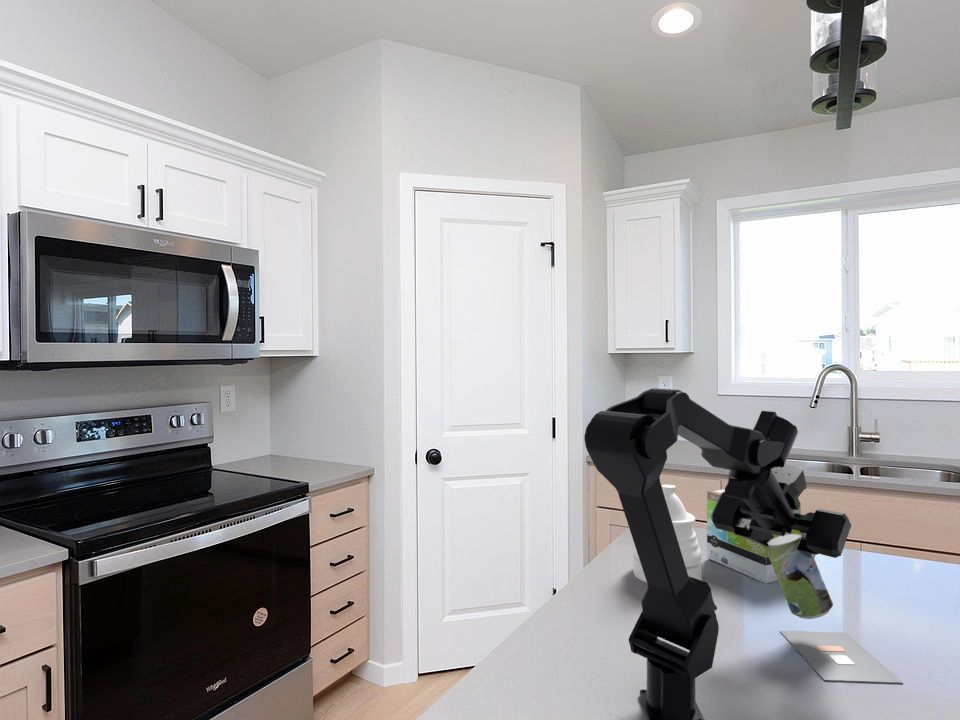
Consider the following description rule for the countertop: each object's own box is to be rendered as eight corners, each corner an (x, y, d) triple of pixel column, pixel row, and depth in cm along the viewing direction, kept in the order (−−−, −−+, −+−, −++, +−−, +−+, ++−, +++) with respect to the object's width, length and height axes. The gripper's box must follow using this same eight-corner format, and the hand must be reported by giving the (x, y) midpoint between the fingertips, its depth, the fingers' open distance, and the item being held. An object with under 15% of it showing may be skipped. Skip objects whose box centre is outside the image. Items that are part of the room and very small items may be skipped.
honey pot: (708, 590, 110) (708, 492, 110) (636, 585, 112) (636, 490, 112) (695, 565, 123) (695, 477, 123) (630, 561, 125) (630, 475, 125)
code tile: (902, 683, 79) (902, 681, 79) (824, 680, 80) (824, 679, 80) (846, 633, 93) (846, 632, 93) (779, 631, 94) (779, 630, 94)
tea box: (704, 559, 126) (705, 489, 126) (739, 552, 130) (739, 485, 130) (765, 585, 112) (766, 506, 112) (802, 576, 117) (802, 500, 116)
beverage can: (843, 617, 88) (823, 535, 89) (793, 626, 88) (774, 544, 90) (822, 605, 94) (803, 528, 96) (775, 613, 95) (757, 536, 96)
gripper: (846, 457, 83) (874, 523, 91) (721, 441, 98) (753, 499, 105) (822, 524, 79) (854, 587, 86) (693, 497, 93) (729, 553, 100)
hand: (793, 552), depth 94 cm, fingers closed on beverage can, 6 cm apart
